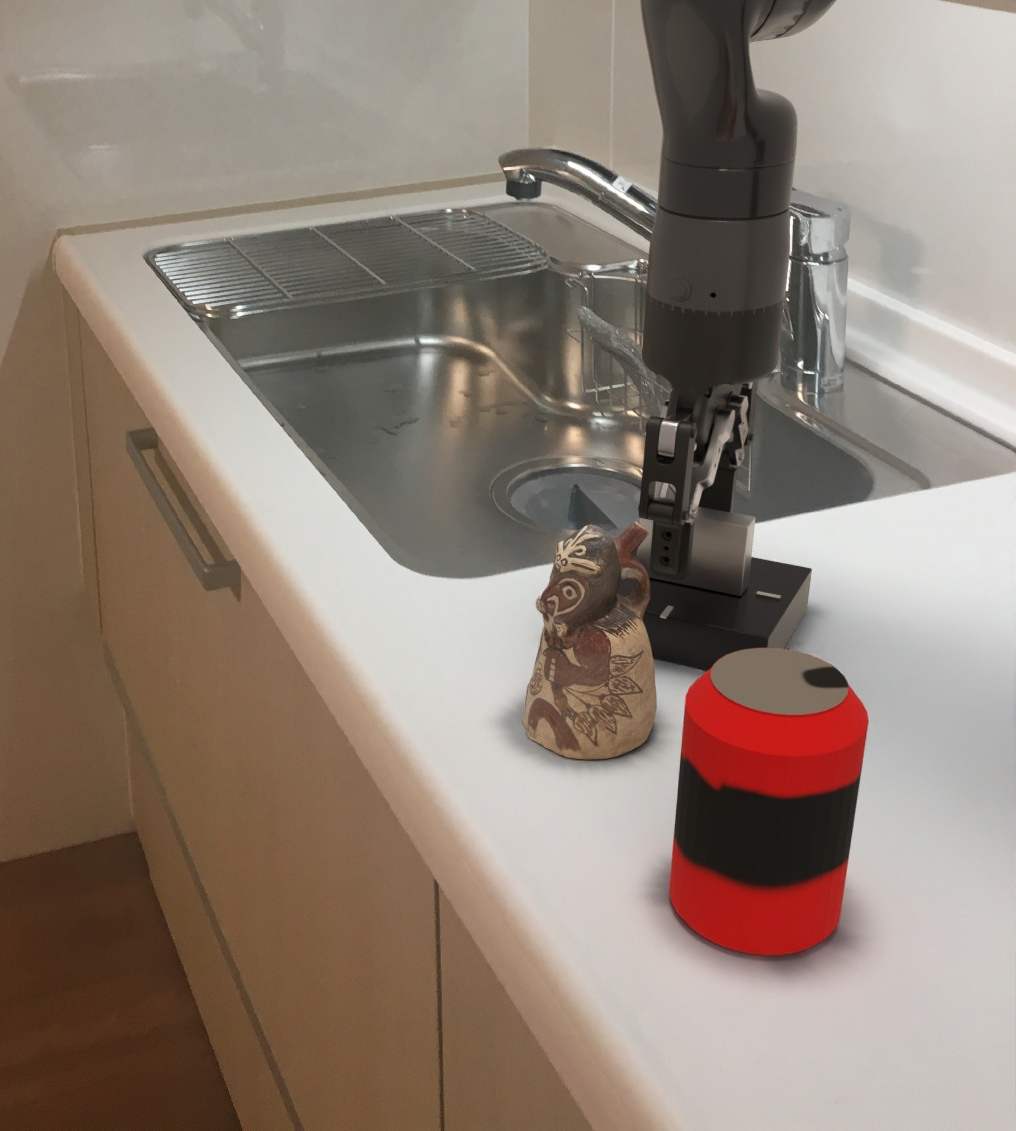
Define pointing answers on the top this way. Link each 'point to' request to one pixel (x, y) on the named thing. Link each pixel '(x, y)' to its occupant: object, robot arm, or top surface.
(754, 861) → the soda can
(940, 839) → the top surface
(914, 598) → the top surface
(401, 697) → the top surface
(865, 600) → the top surface
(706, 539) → the grey rectangular block
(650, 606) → the tap plate
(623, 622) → the figurine
